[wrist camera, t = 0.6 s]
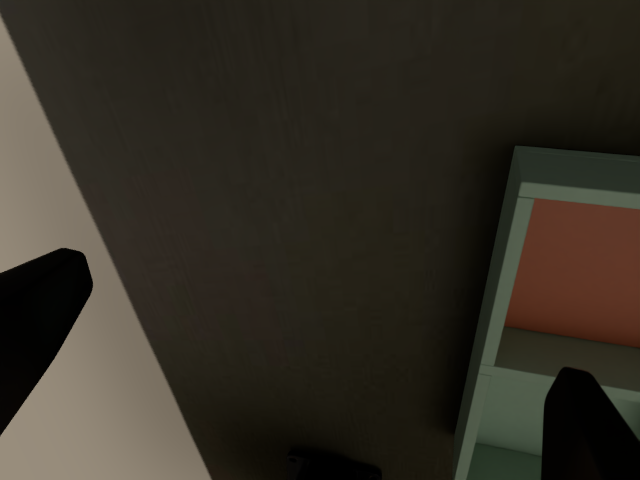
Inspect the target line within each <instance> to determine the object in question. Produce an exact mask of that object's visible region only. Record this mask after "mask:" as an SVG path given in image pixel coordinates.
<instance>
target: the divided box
mask: <svg viewBox="0 0 640 480" xmlns="http://www.w3.org/2000/svg"><path fill="white" fill-rule="evenodd" d="M565 366H569V367H573V368H577V369H582V370H586V371H588V372H590V373H591V374H592V375H593V376H594V377H595V379H596V380H597V382H598V383H599V384H600V386H601V387H602V389H603V390H604V391H605V393H606V394H607V396H608V397H609V399H610V400H611V401H612V403H613V404H614V406H615V407H616V408H617V410H618V411H619V413H620V414H621V415H622V417H623V418H624V420H625V421H626V422H627V424H628V425H629V427H630V428H631V430H632V431H633V432H634V434H635V435H636V437H637V438H638V439H639V441H640V156H630V155H619V154H607V153H596V152H585V151H573V150H562V149H551V148H539V147H528V146H515V148H514V153H513V158H512V162H511V167H510V172H509V177H508V181H507V186H506V191H505V196H504V201H503V205H502V210H501V215H500V220H499V225H498V229H497V234H496V239H495V244H494V249H493V253H492V258H491V263H490V268H489V273H488V277H487V282H486V287H485V292H484V297H483V301H482V306H481V311H480V316H479V320H478V325H477V330H476V335H475V340H474V344H473V349H472V354H471V359H470V364H469V368H468V373H467V378H466V383H465V388H464V392H463V397H462V402H461V407H460V412H459V416H458V421H457V426H456V431H455V436H454V454H453V476H452V480H541V463H542V438H543V414H544V402H545V398H546V395H547V393H548V391H549V389H550V387H551V386H552V384H553V382H554V380H555V378H556V377H557V375H558V373H559V371H560V370H561V369H562V368H563V367H565Z"/></svg>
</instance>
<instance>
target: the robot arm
mask: <svg viewBox="0 0 640 480" xmlns="http://www.w3.org/2000/svg"><path fill="white" fill-rule="evenodd" d="M92 288H93V281H92V277H91V274H90V270H89V267H88V263H87V260H86V257H85V255H84V254H83V253H82V252H80V251H76V250H71V249H67V248H60V249H58V250H55V251H53V252H50V253H48V254H46V255H43V256H41V257H38V258H36V259H33V260H31V261H28V262H26V263H24V264H21V265H19V266H17V267H14V268H12V269H9V270H7V271H4V272H2V273H0V435H1V434H2V433H3V431H4V430H5V429H6V427H7V426H8V424H9V423H10V421H11V420H12V418H13V417H14V416H15V414H16V413H17V411H18V410H19V409H20V407H21V406H22V404H23V403H24V401H25V400H26V399H27V397H28V396H29V394H30V393H31V391H32V390H33V389H34V387H35V386H36V384H37V383H38V382H39V380H40V379H41V377H42V376H43V374H44V373H45V372H46V370H47V369H48V367H49V366H50V364H51V363H52V361H53V360H54V358H55V356H56V355H57V353H58V352H59V350H60V348H61V346H62V344H63V343H64V341H65V339H66V338H67V336H68V334H69V332H70V330H71V329H72V327H73V325H74V323H75V321H76V319H77V318H78V316H79V314H80V313H81V311H82V309H83V307H84V305H85V303H86V302H87V300H88V298H89V296H90V294H91V292H92ZM287 476H288V480H382V473H381V472H380V471H379V470H376V469H373V468H368V467H364V466H360V465H355V464H351V463H347V462H342V461H338V460H333V459H329V458H325V457H320V456H316V455H312V454H307V453H303V452H298V451H293V450H292V451H289V453H288V456H287ZM541 480H640V441H639V439H638V438H637V437H636V435H635V434H634V432H633V431H632V430H631V428H630V427H629V425H628V424H627V422H626V421H625V420H624V418H623V417H622V415H621V414H620V413H619V411H618V410H617V408H616V407H615V406H614V404H613V403H612V401H611V400H610V399H609V397H608V396H607V394H606V393H605V391H604V390H603V389H602V387H601V386H600V384H599V383H598V382H597V380H596V379H595V377H594V376H593V375H592V374H591V373H590V372H588V371H586V370H582V369H577V368H573V367H569V366H565V367H563V368H562V369H561V370H560V371H559V373H558V375H557V377H556V378H555V380H554V382H553V384H552V386H551V387H550V389H549V391H548V393H547V395H546V398H545V402H544V414H543V438H542V463H541Z"/></svg>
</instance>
